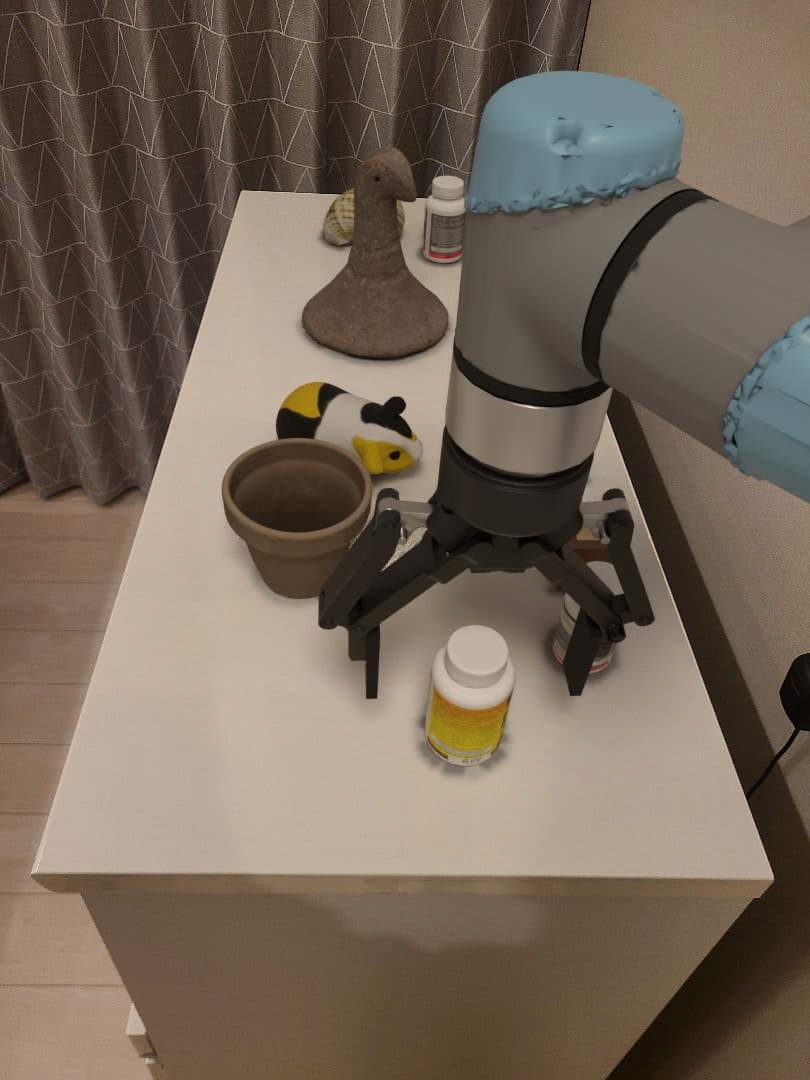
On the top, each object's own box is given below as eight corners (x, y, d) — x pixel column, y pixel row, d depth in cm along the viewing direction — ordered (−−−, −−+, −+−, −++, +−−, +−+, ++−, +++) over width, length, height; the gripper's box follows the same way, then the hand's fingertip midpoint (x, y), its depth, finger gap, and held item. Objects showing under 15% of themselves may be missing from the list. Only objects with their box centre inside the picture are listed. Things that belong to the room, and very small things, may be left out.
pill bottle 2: (610, 631, 67) (635, 561, 61) (612, 679, 64) (638, 609, 58) (551, 623, 68) (571, 552, 62) (550, 670, 64) (570, 600, 58)
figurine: (399, 512, 76) (403, 443, 70) (260, 460, 80) (253, 391, 75) (437, 461, 81) (443, 393, 76) (304, 415, 86) (301, 347, 80)
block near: (615, 589, 71) (629, 547, 67) (557, 589, 70) (568, 547, 67) (602, 547, 74) (615, 504, 70) (547, 547, 74) (557, 504, 70)
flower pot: (397, 560, 72) (402, 471, 65) (316, 647, 65) (312, 558, 58) (291, 506, 76) (285, 417, 69) (205, 582, 69) (188, 492, 62)
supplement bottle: (507, 767, 58) (529, 682, 51) (428, 772, 58) (439, 687, 51) (493, 699, 62) (512, 612, 55) (419, 704, 62) (429, 616, 54)
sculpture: (427, 374, 92) (441, 194, 77) (282, 347, 94) (270, 167, 80) (460, 300, 103) (477, 131, 89) (330, 278, 106) (327, 109, 92)
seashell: (305, 235, 112) (324, 157, 108) (349, 246, 120) (368, 173, 116) (363, 256, 107) (385, 175, 104) (404, 266, 115) (426, 191, 112)
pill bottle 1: (470, 257, 111) (478, 183, 104) (440, 268, 109) (447, 194, 102) (443, 242, 114) (449, 169, 107) (413, 252, 112) (417, 179, 105)
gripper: (741, 389, 44) (639, 634, 60) (267, 383, 42) (287, 637, 58) (794, 484, 39) (668, 726, 54) (257, 482, 37) (282, 732, 53)
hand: (472, 680), depth 56 cm, fingers open, 13 cm apart
